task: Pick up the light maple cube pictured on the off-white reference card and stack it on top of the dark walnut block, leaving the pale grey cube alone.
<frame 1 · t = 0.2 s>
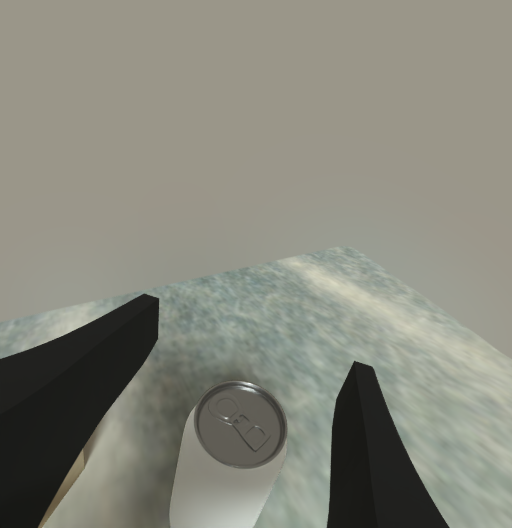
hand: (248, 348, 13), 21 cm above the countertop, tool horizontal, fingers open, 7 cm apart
maple cube: (31, 487, 26), on the countertop
can: (211, 513, 27), on the countertop
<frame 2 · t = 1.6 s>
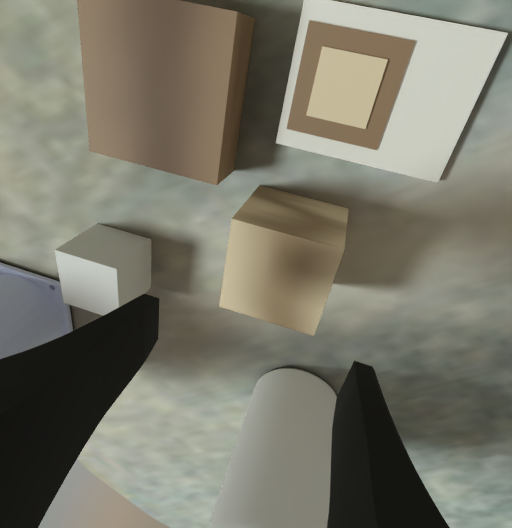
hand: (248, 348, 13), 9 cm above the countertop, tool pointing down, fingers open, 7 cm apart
grey cube: (125, 255, 25), on the countertop
maple cube: (293, 236, 20), on the countertop
can: (296, 393, 27), on the countertop
reference card: (375, 94, 16), on the countertop
walnut block: (181, 87, 18), on the countertop
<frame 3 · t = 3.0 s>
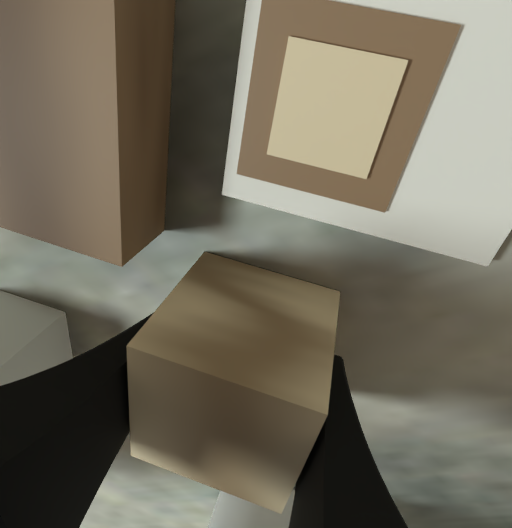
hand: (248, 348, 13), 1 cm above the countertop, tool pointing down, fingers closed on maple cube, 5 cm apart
grey cube: (36, 329, 18), on the countertop
maple cube: (258, 323, 14), on the countertop, touching gripper
can: (274, 502, 20), on the countertop
reference card: (384, 121, 9), on the countertop
walnut block: (76, 103, 12), on the countertop
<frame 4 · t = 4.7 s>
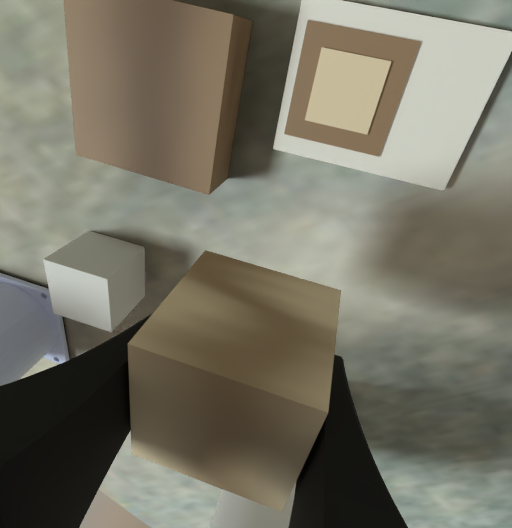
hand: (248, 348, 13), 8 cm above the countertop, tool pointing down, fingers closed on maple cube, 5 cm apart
grey cube: (118, 263, 24), on the countertop
maple cube: (258, 322, 14), point 7 cm above the countertop, touching gripper
can: (295, 405, 26), on the countertop
reference card: (378, 98, 15), on the countertop
walnut block: (174, 90, 17), on the countertop
when the fingers open (5 cm above the countertop, at t = 6.7 s): maple cube drops 1 cm, point 3 cm above the countertop.
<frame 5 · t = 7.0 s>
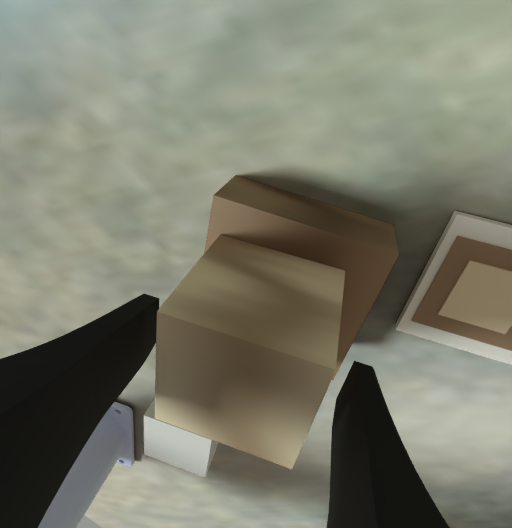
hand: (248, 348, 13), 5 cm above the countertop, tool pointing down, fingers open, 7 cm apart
grey cube: (202, 392, 23), on the countertop
maple cube: (268, 302, 15), point 3 cm above the countertop
walnut block: (292, 262, 17), on the countertop
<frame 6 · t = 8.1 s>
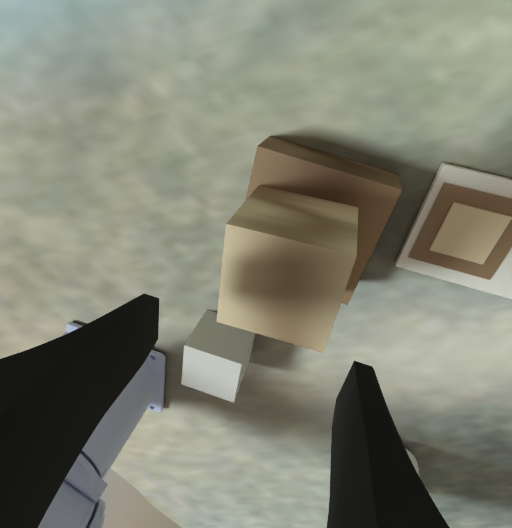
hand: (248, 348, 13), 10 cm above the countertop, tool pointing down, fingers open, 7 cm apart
grey cube: (228, 336, 27), on the countertop
maple cube: (297, 240, 19), point 3 cm above the countertop
reference card: (493, 237, 18), on the countertop
walnut block: (313, 211, 21), on the countertop
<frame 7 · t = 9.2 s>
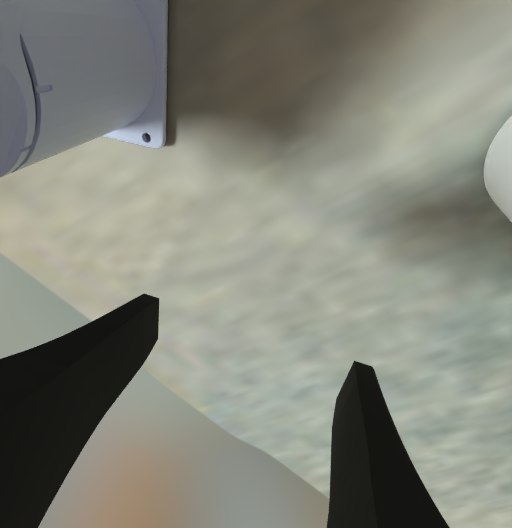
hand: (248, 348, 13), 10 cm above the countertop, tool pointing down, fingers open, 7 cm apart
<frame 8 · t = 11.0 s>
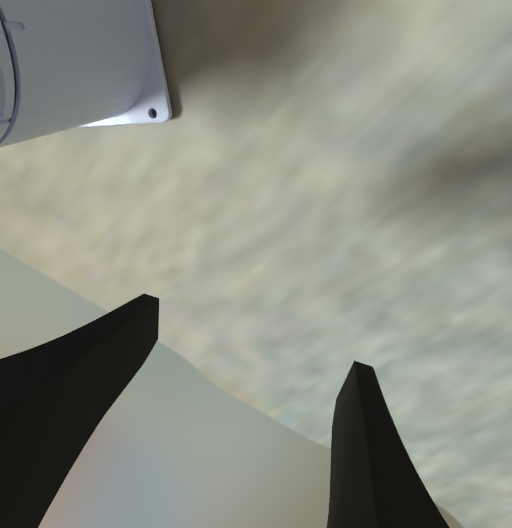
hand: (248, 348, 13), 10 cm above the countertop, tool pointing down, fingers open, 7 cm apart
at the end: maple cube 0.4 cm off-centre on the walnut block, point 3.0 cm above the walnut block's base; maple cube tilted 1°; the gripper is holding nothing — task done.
